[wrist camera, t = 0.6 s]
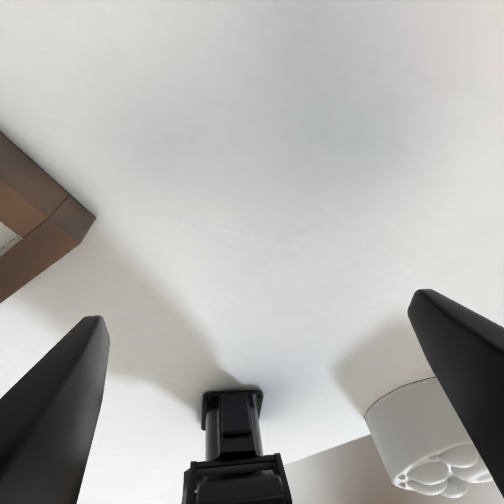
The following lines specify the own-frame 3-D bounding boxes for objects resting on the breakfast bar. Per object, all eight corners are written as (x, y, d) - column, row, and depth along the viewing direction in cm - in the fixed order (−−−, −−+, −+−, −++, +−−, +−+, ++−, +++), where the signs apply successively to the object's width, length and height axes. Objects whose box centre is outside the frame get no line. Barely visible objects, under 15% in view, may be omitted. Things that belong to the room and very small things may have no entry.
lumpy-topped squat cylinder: (460, 415, 43) (511, 489, 36) (366, 438, 44) (397, 516, 37) (471, 368, 38) (534, 444, 31) (362, 395, 38) (399, 477, 31)
